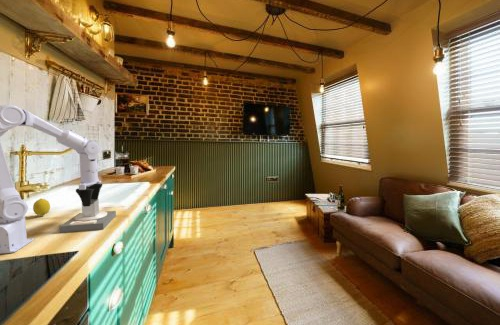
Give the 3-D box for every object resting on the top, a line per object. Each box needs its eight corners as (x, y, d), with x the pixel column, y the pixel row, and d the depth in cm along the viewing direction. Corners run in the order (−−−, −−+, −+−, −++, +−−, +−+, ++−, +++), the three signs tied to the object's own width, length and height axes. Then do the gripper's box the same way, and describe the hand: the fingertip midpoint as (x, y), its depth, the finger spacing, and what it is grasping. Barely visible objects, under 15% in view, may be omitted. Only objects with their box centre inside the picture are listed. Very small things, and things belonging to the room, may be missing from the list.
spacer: (95, 216, 92) (94, 201, 92) (82, 217, 91) (81, 202, 91) (99, 213, 97) (98, 199, 96) (87, 213, 95) (86, 199, 95)
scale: (103, 229, 87) (103, 221, 87) (60, 232, 84) (59, 224, 83) (116, 216, 103) (115, 209, 103) (79, 218, 99) (79, 211, 99)
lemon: (40, 218, 98) (39, 200, 97) (30, 217, 99) (28, 199, 99) (53, 214, 104) (52, 197, 103) (44, 213, 105) (42, 196, 104)
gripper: (93, 172, 86) (95, 208, 88) (106, 168, 100) (107, 198, 101) (71, 173, 84) (73, 209, 86) (87, 168, 98) (89, 199, 100)
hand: (90, 203), depth 93 cm, fingers open, 7 cm apart
